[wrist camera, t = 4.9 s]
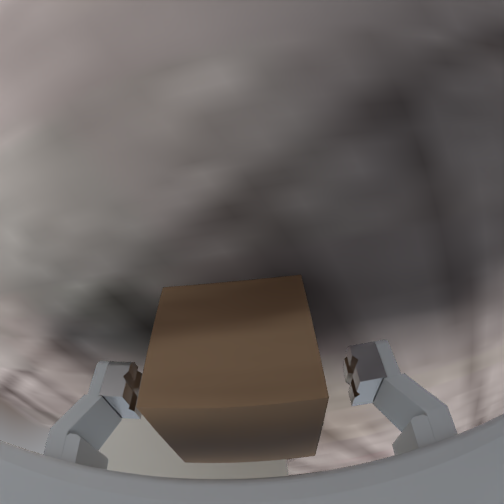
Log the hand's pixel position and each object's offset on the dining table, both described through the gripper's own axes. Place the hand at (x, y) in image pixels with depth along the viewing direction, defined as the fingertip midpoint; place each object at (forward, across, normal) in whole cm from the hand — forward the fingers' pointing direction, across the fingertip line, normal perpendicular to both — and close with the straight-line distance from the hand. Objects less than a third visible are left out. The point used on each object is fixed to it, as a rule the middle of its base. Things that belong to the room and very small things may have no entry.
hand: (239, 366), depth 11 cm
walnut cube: (+2, 0, 0) cm, 2 cm away
